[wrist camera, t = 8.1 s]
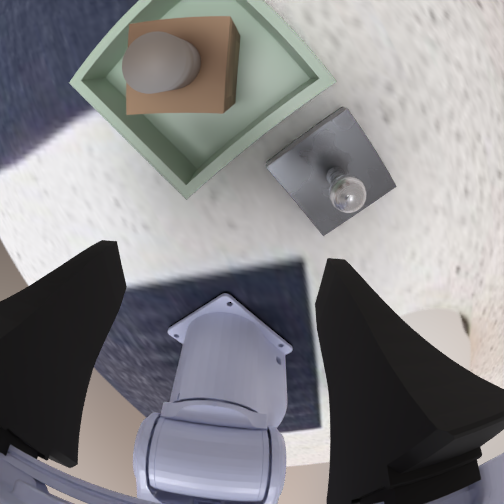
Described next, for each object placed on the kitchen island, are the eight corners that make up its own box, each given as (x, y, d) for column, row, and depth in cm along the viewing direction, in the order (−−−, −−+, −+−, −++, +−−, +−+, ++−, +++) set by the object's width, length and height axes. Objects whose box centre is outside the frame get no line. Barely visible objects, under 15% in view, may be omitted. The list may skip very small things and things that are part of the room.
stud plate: (389, 179, 18) (422, 212, 14) (320, 227, 20) (334, 270, 16) (342, 106, 16) (370, 118, 11) (266, 162, 18) (267, 191, 14)
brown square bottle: (235, 103, 15) (213, 122, 9) (165, 102, 15) (97, 125, 9) (240, 35, 13) (222, 0, 6) (168, 37, 13) (100, 16, 6)
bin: (322, 80, 15) (336, 81, 12) (198, 178, 19) (186, 199, 16) (212, -30, 11) (201, -50, 8) (98, 78, 15) (69, 82, 12)
